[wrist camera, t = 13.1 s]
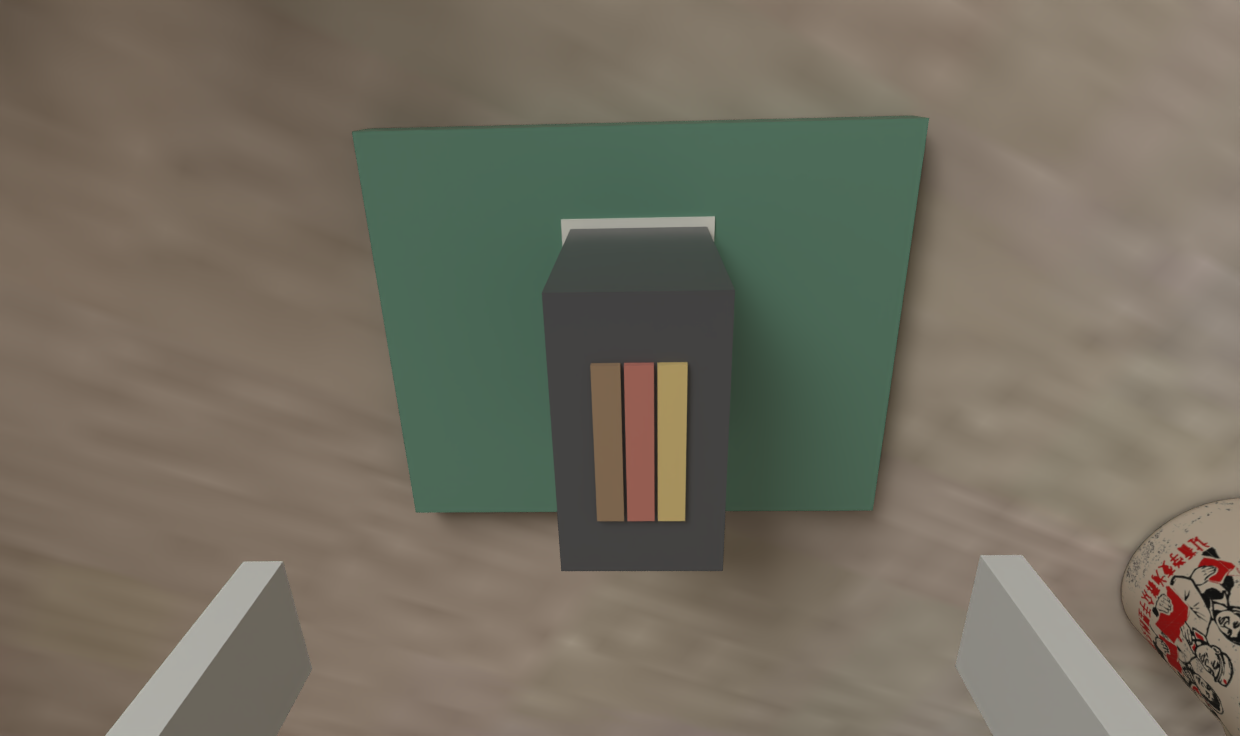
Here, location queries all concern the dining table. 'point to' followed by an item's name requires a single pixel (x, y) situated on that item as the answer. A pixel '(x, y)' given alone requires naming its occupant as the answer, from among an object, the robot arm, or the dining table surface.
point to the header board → (644, 198)
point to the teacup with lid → (1193, 602)
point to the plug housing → (640, 398)
